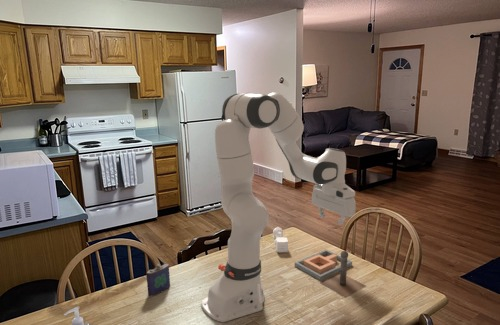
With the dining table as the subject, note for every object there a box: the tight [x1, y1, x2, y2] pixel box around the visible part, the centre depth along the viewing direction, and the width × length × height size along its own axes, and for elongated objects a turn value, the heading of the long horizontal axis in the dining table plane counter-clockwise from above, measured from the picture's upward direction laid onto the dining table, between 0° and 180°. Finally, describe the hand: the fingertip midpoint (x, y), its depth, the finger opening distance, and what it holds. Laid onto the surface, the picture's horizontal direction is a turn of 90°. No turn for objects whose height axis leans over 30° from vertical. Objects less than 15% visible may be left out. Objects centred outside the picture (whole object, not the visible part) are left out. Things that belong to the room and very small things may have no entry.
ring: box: [303, 254, 338, 275], centre depth 149 cm, size 14×9×3 cm, turn 127°
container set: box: [272, 226, 289, 253], centre depth 173 cm, size 20×5×6 cm, turn 3°
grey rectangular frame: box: [294, 249, 353, 281], centre depth 150 cm, size 19×14×3 cm
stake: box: [319, 250, 367, 298], centre depth 134 cm, size 12×12×15 cm
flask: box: [145, 263, 171, 297], centre depth 134 cm, size 9×3×11 cm, turn 138°
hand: (331, 220), depth 149 cm, fingers open, 8 cm apart
